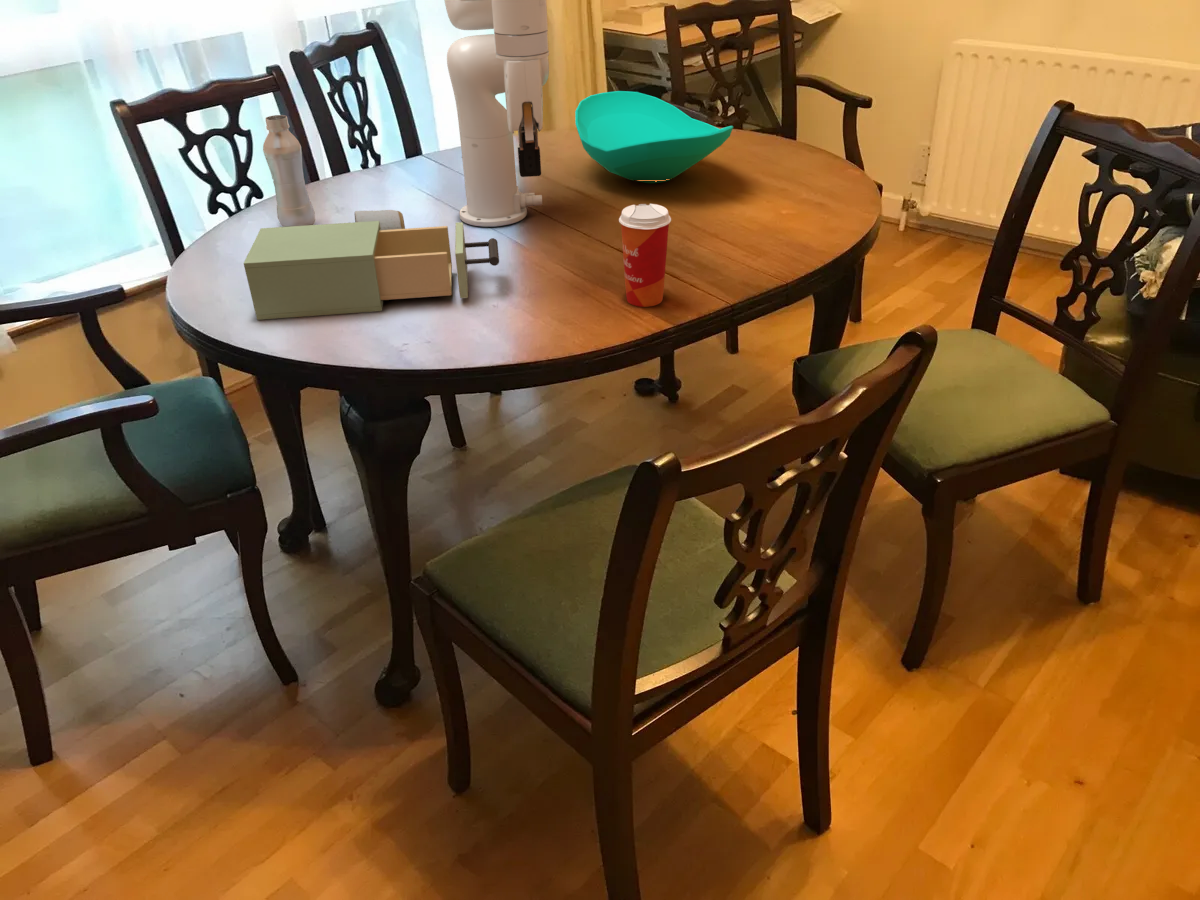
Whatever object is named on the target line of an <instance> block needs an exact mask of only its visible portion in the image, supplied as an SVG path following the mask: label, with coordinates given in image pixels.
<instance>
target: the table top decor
mask: <svg viewBox="0 0 1200 900" xmlns="http://www.w3.org/2000/svg"><path fill="white" fill-rule="evenodd" d="M574 113H575V114H574V118H575V120H574V121H575V122H574V123H575V127H576V130H577V133H578V137H579V139H580V143H581V145H582V148H583V150H585V152H586V153H587V154H588V155H589V156H590V158H591V159H592V160H594V161H595V162H596V163H597V164H599V165H600V166H602V167H603V168H604V169H605V170H606V171H607V172H609V173H611V174H614V175H616V176H619V177H622V178H624V179H627V180H630V181H634V180H666V179H671V178H673V179H675V178H676V177H677V176H679V175H681V174H682V173H684V172H686V171H687V170H688V169H690V168H692V167H693V166H694V165H696V164H698V163H699V162H700V161H702V160H703V159H705V158H706V157H708V156H709V155H710V154H712V153H713V152H714V151H716V150H717V149H718V148H720V147H721V146H722V145H723V144H724V143H725V142H726V141H727V140H728V139H729V138H730V137H731V134H732V131H733V129H734V126H733V125H728V126H725V127H722V128H718V127H717V126H714V125H711V124H709V123H706V122H704V121H702V120H698V119H695V118H692V117H691V116H689V115H688V114H686V113H685V112H684V111H682V110H681V109H679V108H678V107H677V106H675V105H673V104H671V103H669V102H666V100H662V99H660V98H658V97H656V96H652V95H649V94H646V93H642V92H639V91H628V90H627V91H625V90H616V91H614V90H613V91H607V92H605V91H604V92H600V93H599V92H598V93H594V94H591V95H589V96H587V97H585V98H583V99H582V100H580V102H578V105H577V106H576V109H575V112H574ZM671 180H672V179H671ZM637 182H639V183H642V184H643V183H644V184H662V183H666V182H670V180H666V181H657V182H655V181H637Z"/></svg>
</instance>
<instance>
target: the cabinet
mask: <svg viewBox="0 0 1200 900" xmlns="http://www.w3.org/2000/svg"><path fill="white" fill-rule="evenodd" d="M379 230H381V227H380V221H369V222H355V221H354V222H339V223H324V224H313V225H306V226H290V227H282V226H278V227H277V226H276V227H262V228H260V229H259V231H258V233H257V235H256V237H255V239H254V241H253V243H252V245H251V247H250V249H249V252H248V253H247V255H246V257H245V260H244V261H243V267H244V271H245V276H246V279H247V284H248V288H249V291H250V296H251V301H252V304H253V309H254V313H255V317H256V320H257V321H261V320H275V319H287V318H290V319H291V318H305V317H317V316H329V315H330V316H331V315H345V314H358V313H371V312H382V310H383V307H384V306H383V305H384V300H381V299H380V293H379V287H378V281H377V274H376V268H375V262H374V254H375V249H376V244H377V239H378V234H379Z"/></svg>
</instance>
